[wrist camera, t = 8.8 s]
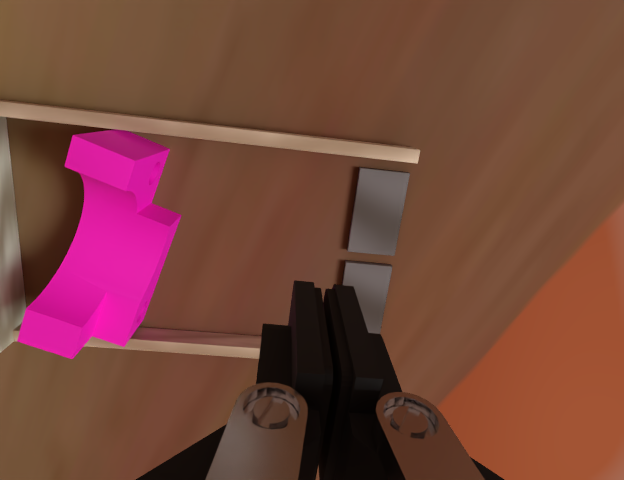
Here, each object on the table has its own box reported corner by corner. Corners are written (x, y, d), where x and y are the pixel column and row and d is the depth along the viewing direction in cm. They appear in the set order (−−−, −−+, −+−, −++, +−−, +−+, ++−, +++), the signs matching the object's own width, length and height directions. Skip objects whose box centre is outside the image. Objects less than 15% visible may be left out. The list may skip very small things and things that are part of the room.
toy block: (144, 318, 36) (107, 370, 29) (72, 293, 35) (16, 341, 28) (201, 161, 32) (175, 177, 25) (122, 128, 31) (72, 134, 24)
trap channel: (-18, 97, 30) (-62, 96, 26) (412, 147, 33) (428, 152, 29) (10, 327, 36) (-23, 353, 32) (374, 354, 38) (383, 381, 35)
